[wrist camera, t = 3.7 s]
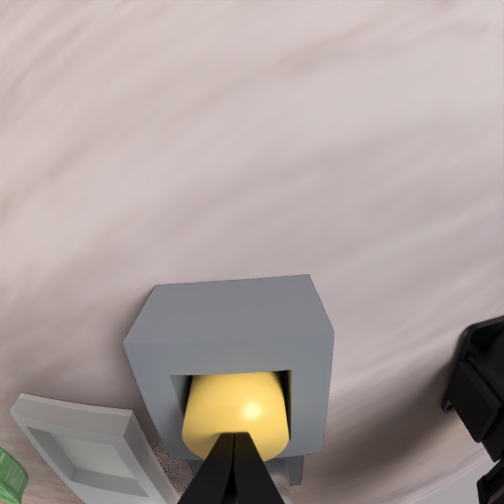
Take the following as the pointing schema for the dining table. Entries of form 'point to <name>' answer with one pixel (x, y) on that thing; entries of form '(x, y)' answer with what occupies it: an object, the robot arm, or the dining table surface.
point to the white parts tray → (94, 451)
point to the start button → (236, 411)
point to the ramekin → (11, 479)
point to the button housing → (234, 350)
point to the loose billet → (280, 476)
